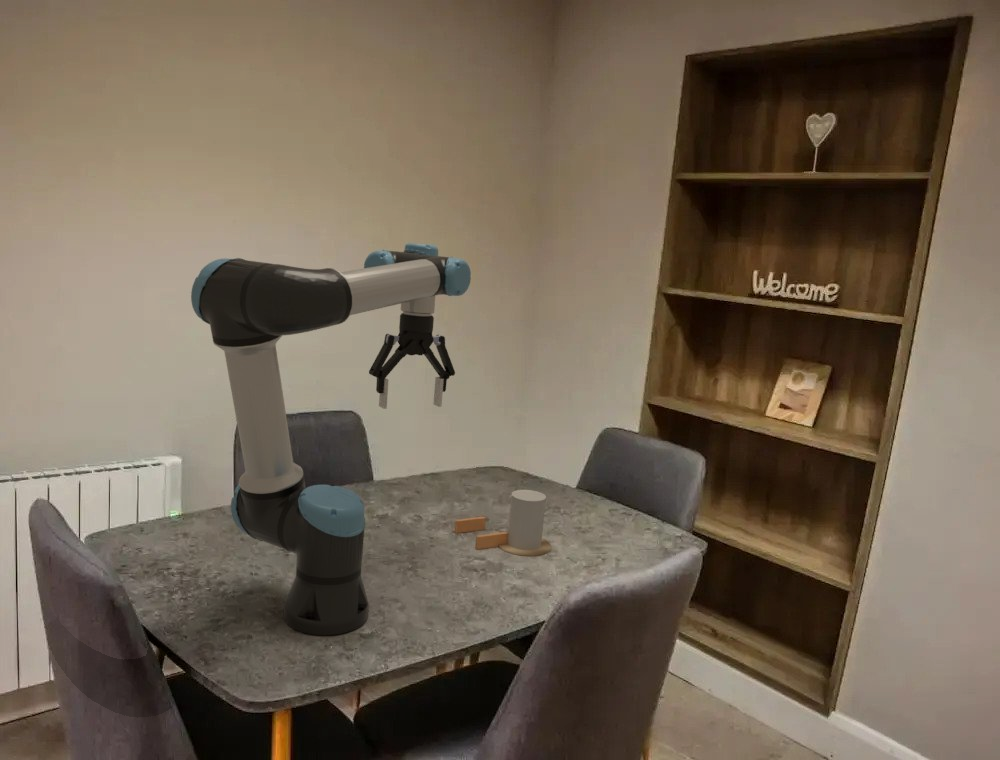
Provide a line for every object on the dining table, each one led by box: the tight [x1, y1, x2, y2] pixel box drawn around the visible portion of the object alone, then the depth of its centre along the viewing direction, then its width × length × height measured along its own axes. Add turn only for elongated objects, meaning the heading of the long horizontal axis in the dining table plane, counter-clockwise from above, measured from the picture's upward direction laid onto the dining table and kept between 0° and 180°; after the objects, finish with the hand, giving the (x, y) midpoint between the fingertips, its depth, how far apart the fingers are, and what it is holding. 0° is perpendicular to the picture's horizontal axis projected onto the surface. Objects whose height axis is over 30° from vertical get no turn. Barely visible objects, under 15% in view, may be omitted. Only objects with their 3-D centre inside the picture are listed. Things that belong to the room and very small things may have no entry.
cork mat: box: [498, 537, 552, 557], centre depth 186 cm, size 13×13×1 cm
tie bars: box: [454, 516, 508, 550], centre depth 187 cm, size 12×8×3 cm
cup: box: [507, 489, 547, 550], centre depth 185 cm, size 8×8×12 cm
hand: (410, 406), depth 178 cm, fingers open, 13 cm apart
